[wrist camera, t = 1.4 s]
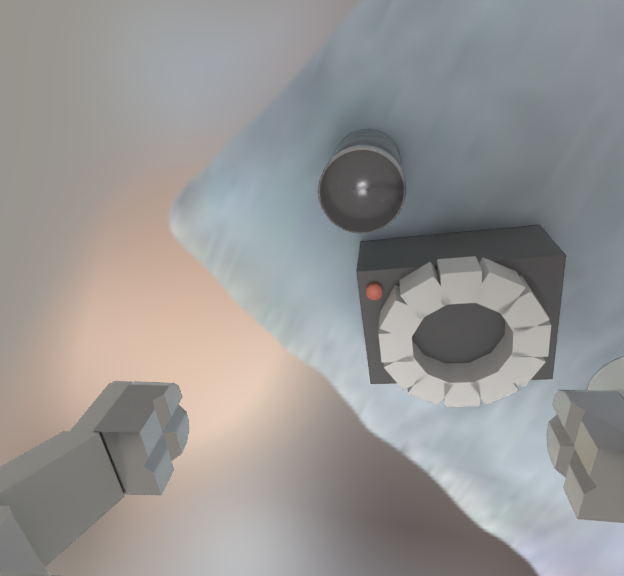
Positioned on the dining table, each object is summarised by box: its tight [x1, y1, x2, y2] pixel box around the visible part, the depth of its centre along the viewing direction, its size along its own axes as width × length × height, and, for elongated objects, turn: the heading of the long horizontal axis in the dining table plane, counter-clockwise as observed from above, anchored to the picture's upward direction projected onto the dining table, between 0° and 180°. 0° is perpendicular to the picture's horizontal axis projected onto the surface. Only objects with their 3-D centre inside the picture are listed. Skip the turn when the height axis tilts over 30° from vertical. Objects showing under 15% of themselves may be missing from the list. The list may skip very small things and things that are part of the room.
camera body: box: [356, 225, 566, 407], centre depth 30 cm, size 12×10×7 cm
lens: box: [318, 129, 406, 233], centre depth 26 cm, size 5×5×7 cm
